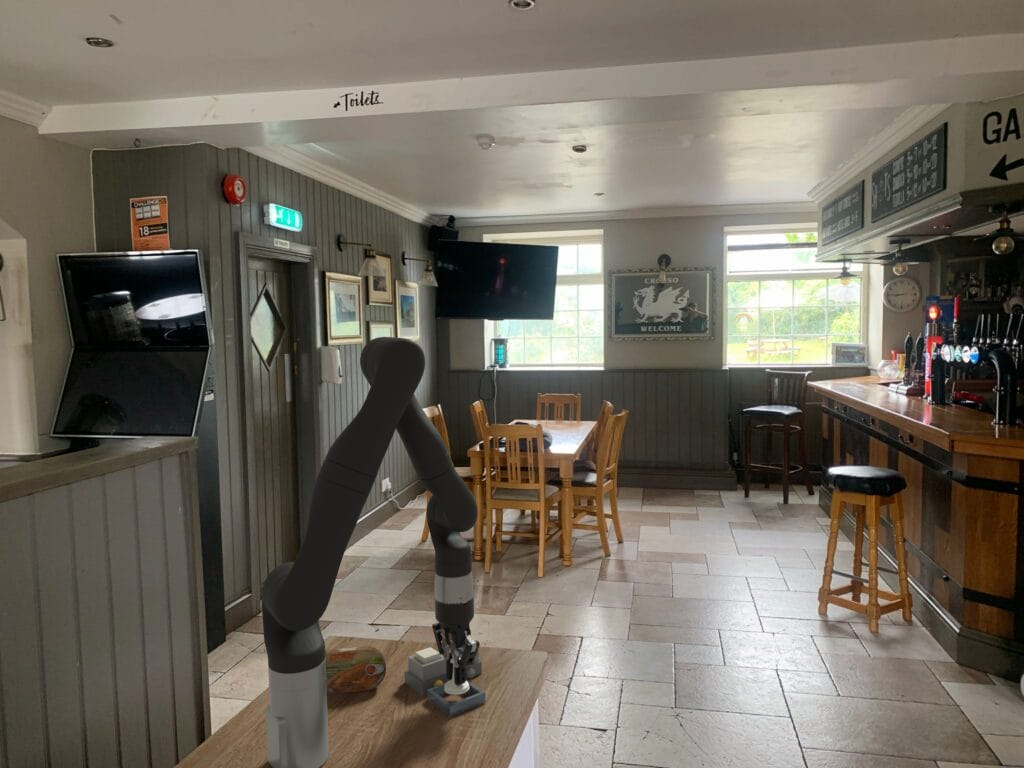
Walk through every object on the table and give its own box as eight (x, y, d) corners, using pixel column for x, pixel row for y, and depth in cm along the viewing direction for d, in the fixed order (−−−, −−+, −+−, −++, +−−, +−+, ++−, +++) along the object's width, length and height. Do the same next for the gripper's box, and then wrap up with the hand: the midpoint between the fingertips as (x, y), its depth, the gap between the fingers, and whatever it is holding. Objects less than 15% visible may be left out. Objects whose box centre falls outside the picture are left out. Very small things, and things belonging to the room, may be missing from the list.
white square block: (425, 674, 143) (424, 658, 143) (415, 668, 146) (415, 652, 146) (440, 669, 145) (439, 653, 145) (430, 662, 148) (430, 647, 148)
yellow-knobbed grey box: (424, 697, 140) (424, 670, 140) (404, 682, 146) (404, 656, 146) (483, 674, 149) (483, 649, 149) (462, 661, 155) (462, 637, 155)
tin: (309, 696, 141) (308, 655, 141) (311, 688, 145) (310, 648, 144) (386, 689, 144) (385, 649, 143) (386, 682, 147) (385, 642, 146)
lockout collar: (450, 717, 133) (450, 706, 133) (427, 699, 139) (426, 689, 139) (485, 702, 138) (485, 692, 138) (461, 686, 145) (461, 676, 144)
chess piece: (465, 695, 136) (463, 644, 135) (440, 693, 137) (439, 643, 136) (472, 683, 140) (470, 634, 140) (448, 681, 142) (446, 632, 141)
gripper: (418, 589, 140) (421, 674, 142) (458, 610, 129) (460, 701, 131) (450, 580, 145) (452, 662, 146) (491, 599, 134) (493, 688, 135)
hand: (456, 680), depth 138 cm, fingers closed on chess piece
